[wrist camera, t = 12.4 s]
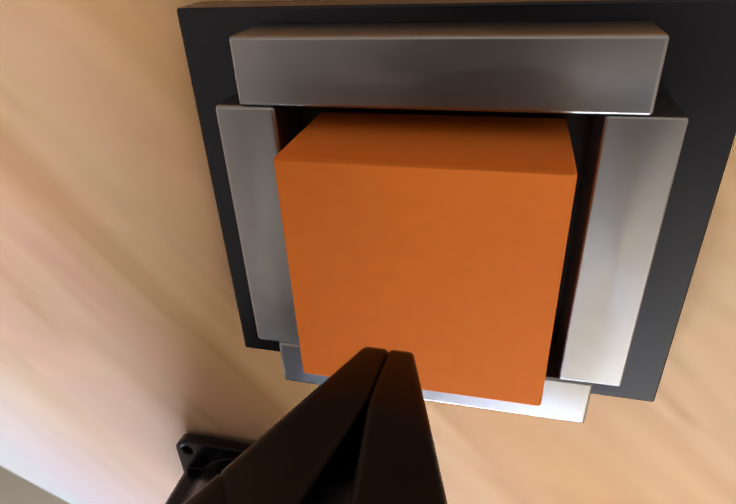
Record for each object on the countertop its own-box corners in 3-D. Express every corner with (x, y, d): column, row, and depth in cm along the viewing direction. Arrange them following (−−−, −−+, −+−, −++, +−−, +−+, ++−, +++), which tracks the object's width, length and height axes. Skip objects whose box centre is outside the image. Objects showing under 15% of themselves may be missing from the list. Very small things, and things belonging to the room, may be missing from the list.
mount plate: (257, 328, 18) (224, 380, 16) (197, 2, 13) (136, 18, 11) (647, 377, 16) (665, 447, 14) (758, -9, 11) (814, 10, 9)
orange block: (337, 301, 16) (302, 373, 13) (320, 110, 13) (271, 157, 10) (538, 323, 15) (540, 407, 12) (567, 117, 12) (578, 172, 9)
